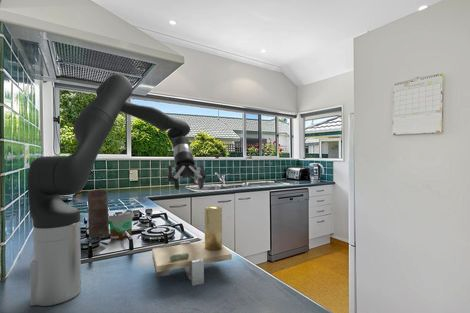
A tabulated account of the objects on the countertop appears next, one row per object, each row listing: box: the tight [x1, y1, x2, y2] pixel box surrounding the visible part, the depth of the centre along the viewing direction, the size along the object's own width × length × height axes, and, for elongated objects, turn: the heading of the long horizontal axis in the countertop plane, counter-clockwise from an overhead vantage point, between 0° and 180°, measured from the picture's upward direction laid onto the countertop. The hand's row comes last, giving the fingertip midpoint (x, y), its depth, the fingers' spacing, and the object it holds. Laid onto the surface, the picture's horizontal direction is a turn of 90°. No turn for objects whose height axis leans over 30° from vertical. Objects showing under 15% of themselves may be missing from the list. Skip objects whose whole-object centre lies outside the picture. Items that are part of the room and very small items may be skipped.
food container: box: [108, 209, 135, 241], centre depth 105 cm, size 12×6×10 cm, turn 168°
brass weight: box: [204, 205, 223, 251], centre depth 76 cm, size 5×5×12 cm
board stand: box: [179, 240, 205, 287], centre depth 73 cm, size 3×17×6 cm, turn 22°
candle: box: [87, 188, 110, 239], centre depth 105 cm, size 8×7×20 cm
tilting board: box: [151, 241, 233, 278], centre depth 73 cm, size 20×13×4 cm, turn 112°
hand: (189, 188), depth 93 cm, fingers open, 8 cm apart
